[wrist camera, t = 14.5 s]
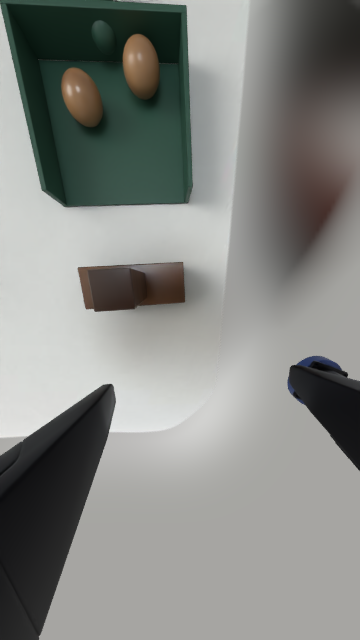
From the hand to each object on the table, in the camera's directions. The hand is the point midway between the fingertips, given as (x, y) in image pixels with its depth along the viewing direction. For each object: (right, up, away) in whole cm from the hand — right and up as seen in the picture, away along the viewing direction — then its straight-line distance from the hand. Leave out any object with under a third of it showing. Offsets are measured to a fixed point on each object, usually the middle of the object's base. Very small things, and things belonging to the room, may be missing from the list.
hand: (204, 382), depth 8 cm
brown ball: (-4, +24, +5) cm, 25 cm away
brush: (-6, +7, +11) cm, 15 cm away
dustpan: (-7, +25, +7) cm, 27 cm away
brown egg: (-9, +22, +6) cm, 24 cm away
